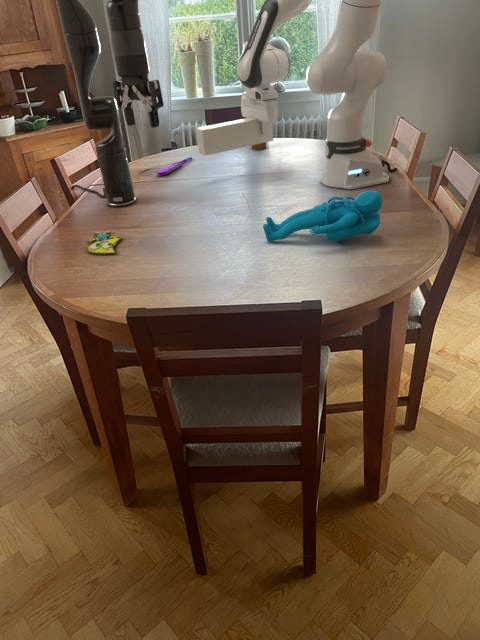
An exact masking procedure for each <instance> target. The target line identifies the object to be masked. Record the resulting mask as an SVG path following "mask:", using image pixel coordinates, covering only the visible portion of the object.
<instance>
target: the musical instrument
mask: <svg viewBox="0 0 480 640" xmlns="http://www.w3.org/2000/svg"><path fill="white" fill-rule="evenodd" d="M192 160H193V156H189V157H186V158H183V159H182V160H180V161H176V162H173V163H168V164H164V165H161V167H163V168H161V169H158V170H157V171H152V172H144V171H147V170H151V169H155V168H158V167H160V165H157V166H153V167H149V168H146V169H141V170H139V171H138V173H139V174H142V175H143V174H145V175H148V174H154V173H156V174H157V176H158V177H159V176H165V175H168V173H170V172H172V171H173V170H175V169H177V168H179V167H180V166H183V165H184V164H185V163H186V162H188V161H192ZM164 166H165V167H164Z"/></svg>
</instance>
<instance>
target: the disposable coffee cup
mask: <svg viewBox="0 0 480 640" xmlns="http://www.w3.org/2000/svg"><path fill="white" fill-rule="evenodd" d="M250 147H251V149H252V150H262V149H266V148H267V142H265V143H260V144H256V145H251V146H250Z"/></svg>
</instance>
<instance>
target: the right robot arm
mask: <svg viewBox="0 0 480 640" xmlns="http://www.w3.org/2000/svg"><path fill="white" fill-rule="evenodd" d="M312 1H313V0H265V1H264V2H263V4H262V5H261V8H260V9H259V12H258V15H257V17H256V20H255V22H254V25H253V27H252V29H251V33H250V35H249V38H248V39H247V40H246V41H245V42H244V43H243V46H242V53H241V54H240V57H239V59H238V62H237V63H236V75H237V78H238V80H239V81H240V83H241V84H242V85H243V86H244V90H243V92H242V96H241V98H240V99H241V100H240V113H241V116H242V117H243V118H250V117H252V118H255V119H258V121H261V122H262V129H261V134H263V135H265V134H267V128H268V125H269V123H273V124H274V123H277V121H278V119H279V104H278V99H277V98H278V97H279V93H278V91H277V89H275V88H274V87H273V86H272V85H271V84H273V83H277V82H281V81H284V80H286V79H287V77H288V76H289V74H290V69H291V61H290V57H289V55H288V53H287V52H286V51H285V50H284V49H282V48H281V49H280V48H277V47H275V46H273V45H272V44H270V42H271V41H270V40H271V38H272V36H273V34H274V32H275V31H276V30H277V29H278V28H279V27H280V26H282V24H284V23H285V22H286V21H289V20H290V19H292V18H294V17H297V16H299V15H301V14H302V13H304V11H306V10H307V9H308V7H309V6H310V4H311V2H312ZM382 2H383V0H340V3H339V8H338V14H337V17H336V22H335V25H334V30H333V32H332V35H331V37H330V38H329V40H328V42H327V44H326V45H325V47H324V48H323V50H322V51H321V52H320V53H319V54H318V55H317V56H316V57H314V58H313V60H311V61H310V63H309V65H308V67H307V70H306V77H305V78H306V84H307V86H308V88H309V90H310V91H311V92H312V93H313V94H315V95H320V96H331V95H338V94H339V95H340V94H342V96H341V99H340V100H339V102H338V103H337V105H335V106H334V107H333V108H332V109H330V110H329V112H328V115H327V123H326V124H327V126H326V127H327V129H326V130H327V133H326V139H325V145H324V154H325V155H324V156H325V164H324V170H323V175H322V178H321V183H322V185H324V186H327V187H330V188H338V189H339V188H341V189H346V190H356V189H361V188H366V187H371V186H376V185H380V184H385V183H389V182H390V176H389V175H388V174H387V173H386V172H385V171H384V167H385V165H386V167H387V171H388V172H389V173H394V172H396V171H398V167H393V168H391V164H390V163H389V162H388V161H386V160H385V159H383V158H380V157H377V156H376V155H375V154H373V152H371V151H370V150H368V148H370V147H371V146H373V141H372V140H371V139H368V138H367V139H366V138H364V137H362V134H363V125H364V124H363V123H364V115H365V111H366V108H367V106H368V105H367V104H368V102H369V100H370V98H371V97H372V95H373V93H374V92H375V91H376V89H377V88H378V87H379V86H380V85H381V84H382V83H383V81H384V80H385V78H386V75H387V72H388V71H387V70H388V63H387V60H386V57H385V55H384V54H383V53H382V52H380V51H376V50H368V49H364V50H359V49H360V48H361V47H362V45H364V44H365V43H366V42H368V41H369V40H370V39H372V38H373V37H372V36H373V35H374V33H375V32H376V28H377V24H378V20H379V15H380V10H381V6H382Z"/></svg>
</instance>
